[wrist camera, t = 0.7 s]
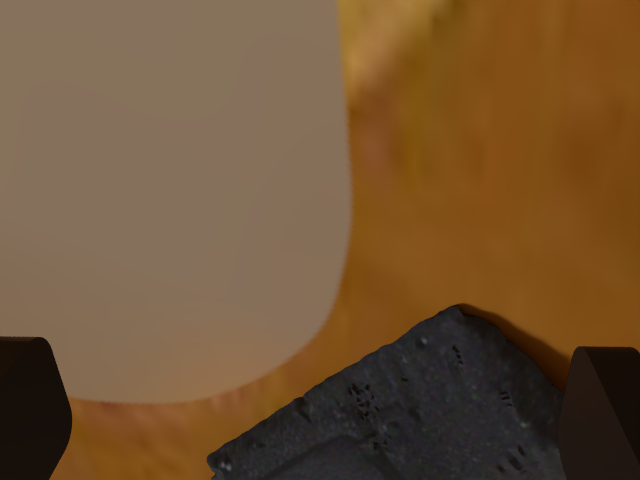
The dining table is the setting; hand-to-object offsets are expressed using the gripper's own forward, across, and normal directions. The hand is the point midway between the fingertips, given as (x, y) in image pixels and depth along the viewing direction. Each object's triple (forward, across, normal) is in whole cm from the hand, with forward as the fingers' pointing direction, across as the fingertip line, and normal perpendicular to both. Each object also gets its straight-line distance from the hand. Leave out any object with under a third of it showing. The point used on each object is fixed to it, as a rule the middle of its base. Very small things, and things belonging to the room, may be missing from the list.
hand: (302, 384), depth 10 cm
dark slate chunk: (+19, -2, +23) cm, 30 cm away
